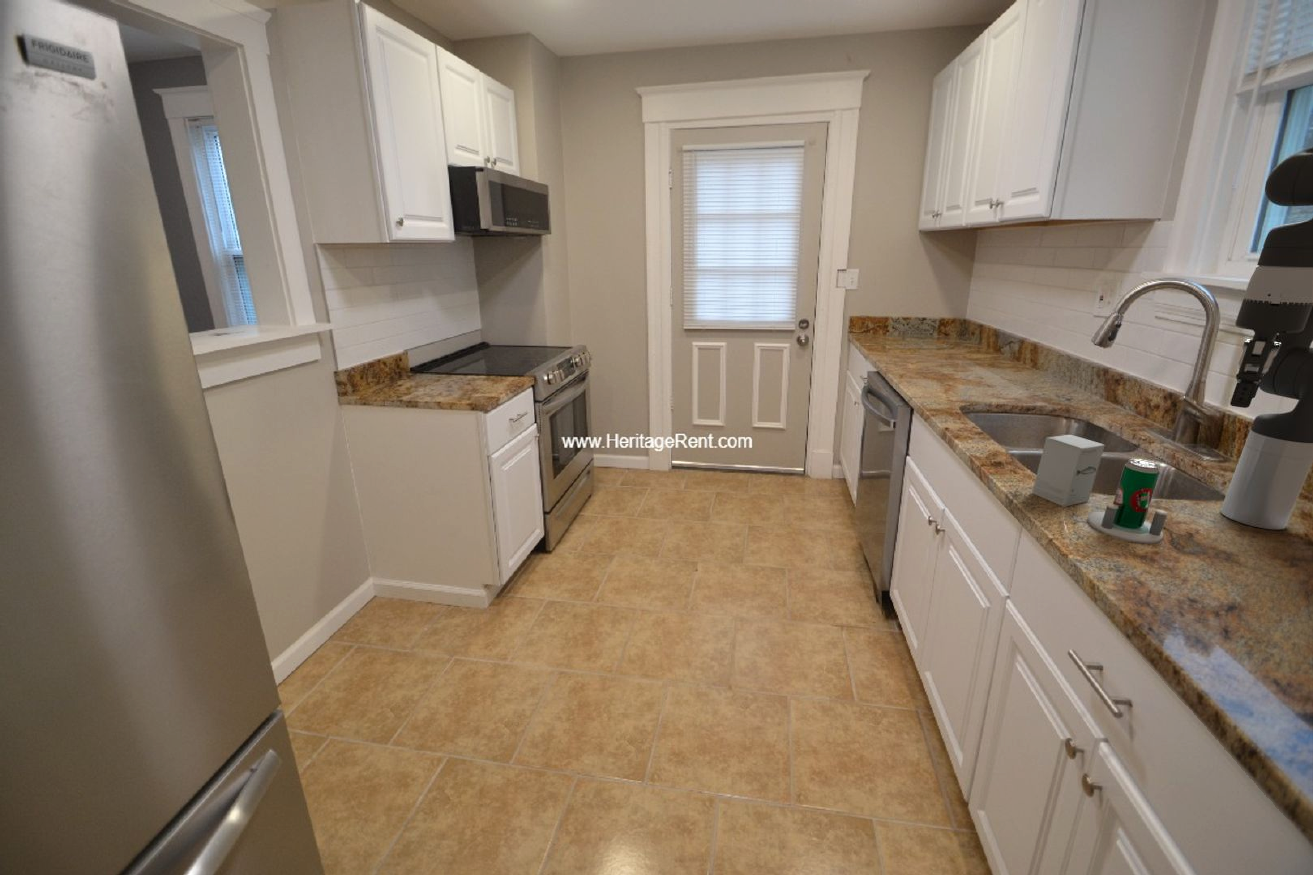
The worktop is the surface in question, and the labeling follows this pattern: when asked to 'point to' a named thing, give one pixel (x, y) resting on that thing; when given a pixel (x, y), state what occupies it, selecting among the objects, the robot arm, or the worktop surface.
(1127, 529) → the pin socket
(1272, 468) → the robot arm
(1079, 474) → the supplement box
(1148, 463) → the soda can
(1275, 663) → the worktop surface
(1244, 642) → the worktop surface
